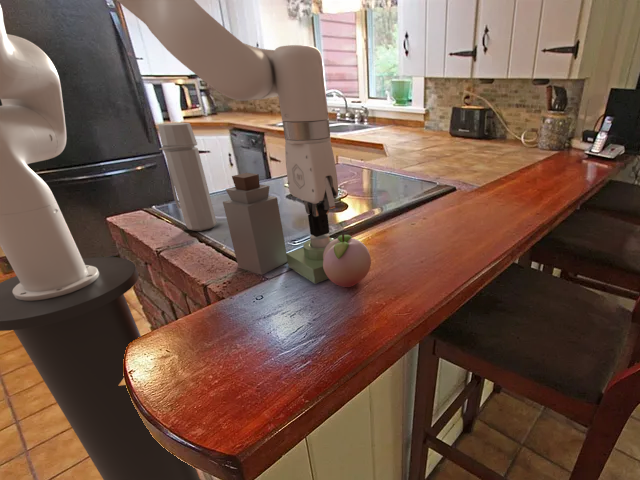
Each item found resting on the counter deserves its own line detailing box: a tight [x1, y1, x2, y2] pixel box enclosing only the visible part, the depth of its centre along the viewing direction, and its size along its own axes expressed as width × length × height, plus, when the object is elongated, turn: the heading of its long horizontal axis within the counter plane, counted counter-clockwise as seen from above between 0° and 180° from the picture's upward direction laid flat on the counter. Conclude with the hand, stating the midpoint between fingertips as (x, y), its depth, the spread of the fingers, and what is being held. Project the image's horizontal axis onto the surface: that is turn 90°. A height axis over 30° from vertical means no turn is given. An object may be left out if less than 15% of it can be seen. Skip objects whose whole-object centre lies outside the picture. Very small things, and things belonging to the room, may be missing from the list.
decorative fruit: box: [323, 233, 372, 288], centre depth 63 cm, size 9×8×10 cm
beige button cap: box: [309, 233, 331, 248], centre depth 69 cm, size 4×4×2 cm
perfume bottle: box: [222, 172, 288, 276], centre depth 69 cm, size 7×7×18 cm
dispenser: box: [286, 237, 336, 285], centre depth 71 cm, size 10×10×5 cm
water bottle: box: [157, 122, 218, 232], centre depth 88 cm, size 9×8×25 cm
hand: (320, 233), depth 69 cm, fingers closed
